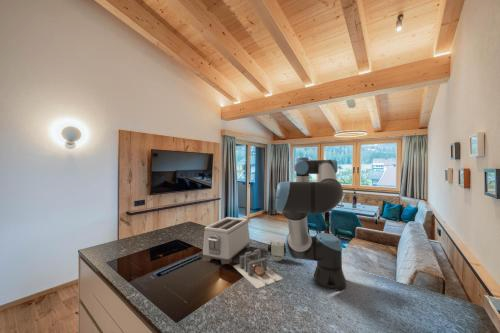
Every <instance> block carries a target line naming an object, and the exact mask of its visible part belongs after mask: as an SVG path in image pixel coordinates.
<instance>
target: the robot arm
mask: <svg viewBox="0 0 500 333" xmlns="http://www.w3.org/2000/svg"><path fill="white" fill-rule="evenodd" d="M293 166H294V167H293V168H294V171H295V173H296V174H295V175H296V176H295V178H296V181H289V180H287V181H281V182H278V184H277V187H276V195H275V206H274V207H275V211H276V212H277V213H281V214H282V215H283V217H284V218H285V219H286V223H287V227H288V233H289V234H287V235H286V236H285V242H284V243H285V246H286V255H287V257H288V258H291V259H295V260H296V259H297V260H304V261H312V262H313V261H314V262H316V267H315V271H314V273H313V281H314V283H315V284H316V285H317V286H320V287H321V288H324V289H327V290H333V291H335V292H341V291H344V290H345V289H346V288H347V281H346V277H345V273H344V271H343V262H342V261H343V260H342V259H343V257H342V256H343V254H342V253H343V252H342V251H343V248H342V241H341V239H340V238H339V237H337V236H336V235H333V234H331V233H327V232H319V233H317V234H316V236H314V235H311V234H310V233H309V228H308V226H309V225H308V216H309V214H316V215H317V214H324V213H325V214H326V213H328V212H330V211H332V210H334V209H335V208H336V207H337V206H339V204H340V203H341V201H342V198H343V196H344V191H343V190H344V189H343V186H342V184H341V182H339V181H338V179H337V176H336V175H337V173H338V168H339V167H338V161H337V160H336V159H316V160H315V159H314V160H313V159H312V160H310V159H309V157H306V156H305V157H304V156H303V157H301V156H299V157H296V159H295V163H294V165H293ZM310 175H318V181H310Z"/></svg>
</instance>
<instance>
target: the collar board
mask: <svg viewBox="0 0 500 333" xmlns="http://www.w3.org/2000/svg"><path fill="white" fill-rule="evenodd" d="M251 257H252V259H251V260H252V261H251V262H248V266H247V258H251ZM267 262H268V261H267V257H262V250H261V249H260V248H259V249H254V250H253V252H252V251H247V252H245V254H242V255H239V264H235V265H232V267H233V268H234V269H235V270H237V272H238V273H239V274H241V275H242V276H243V277H244V278H245V279H246V280H247V281H248V282H249V283H250V284H251V285H253V287H255V288H256V289H259V288H263V287H265V286H267V285H270V284H273V283H276V282H278V281H280V280H283V279H284V277H282V276H281V275H279V274H278V273H276V271H273V270H272V269H271V268H269V267H268V263H267ZM254 264H257V265H259V266H260V267H261V268H263V269H264V270H265V274H264V276H263V277H260V276H259V275H257V274H256V273H255V272H254V271H253V265H254Z"/></svg>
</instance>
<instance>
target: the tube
mask: <svg viewBox="0 0 500 333" xmlns="http://www.w3.org/2000/svg"><path fill="white" fill-rule="evenodd" d="M252 260H253V259H252V258H251V259H250V257H248V258H247V266H248V262H251V261H252ZM253 271H254V272H255V273H256V274H257V275H259V276H260V277H263V276H264V274H265V270H264V269H263V268H261V267H260V266H259V265H257V264H254V265H253Z"/></svg>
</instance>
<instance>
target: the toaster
mask: <svg viewBox="0 0 500 333" xmlns="http://www.w3.org/2000/svg"><path fill="white" fill-rule="evenodd" d="M248 221H249V220H248V218H240V217H233V216H226V217H224V218H223V219H220V220H217V221H216V222H213V223H212V224H209V225H207V226H205V227H204V234H203V246H202V247H203V248H202V254H203V258H202V261H203V262H204V261H205V262H211V261H212V260H213V259H215V260H220V262H221V263H220V264H221V265H226V264H227V265H229V264H230V263H232V262H233V258H235V257H236V256H237V255H238V254H239V253H240V252H242V251H243V250H244V249H246V248H248V247H249V246H250V247H251V245H250V241H251V238H250V231H249V222H248ZM250 247H249V248H250ZM249 248H248V249H249Z"/></svg>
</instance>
